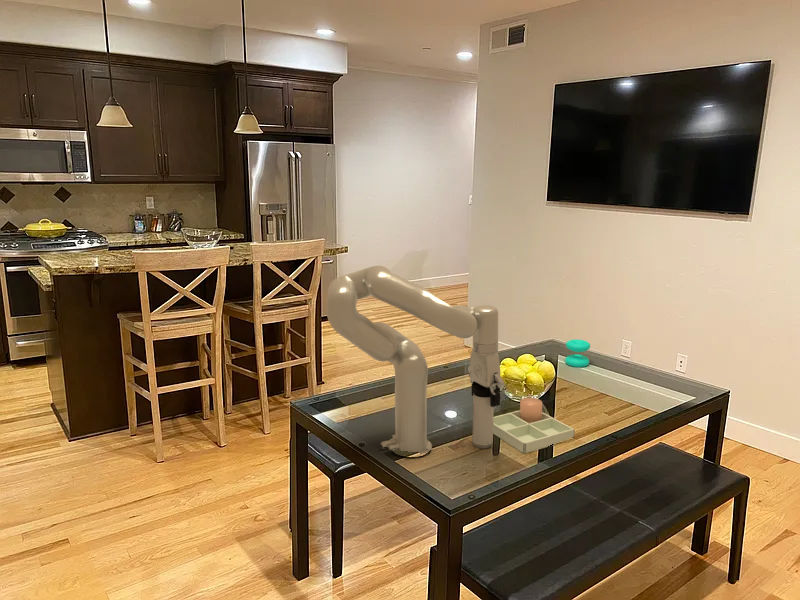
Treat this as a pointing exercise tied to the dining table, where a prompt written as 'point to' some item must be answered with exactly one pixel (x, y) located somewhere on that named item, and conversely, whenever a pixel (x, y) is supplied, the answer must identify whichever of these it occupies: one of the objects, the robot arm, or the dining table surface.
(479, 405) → the travel mug
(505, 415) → the carrier
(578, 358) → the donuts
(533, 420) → the peach rounded capsule
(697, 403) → the dining table surface
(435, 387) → the dining table surface
